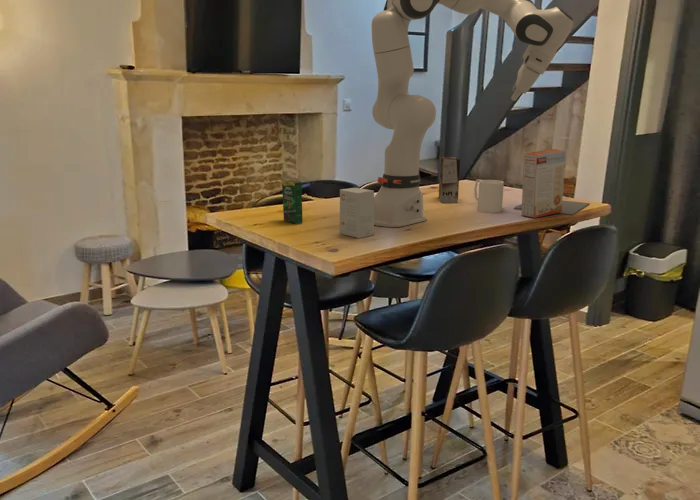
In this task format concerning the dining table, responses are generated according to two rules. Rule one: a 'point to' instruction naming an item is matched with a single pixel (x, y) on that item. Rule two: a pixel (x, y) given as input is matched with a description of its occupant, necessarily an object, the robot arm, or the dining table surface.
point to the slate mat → (567, 207)
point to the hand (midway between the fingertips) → (513, 95)
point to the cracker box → (543, 183)
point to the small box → (357, 212)
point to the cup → (489, 195)
